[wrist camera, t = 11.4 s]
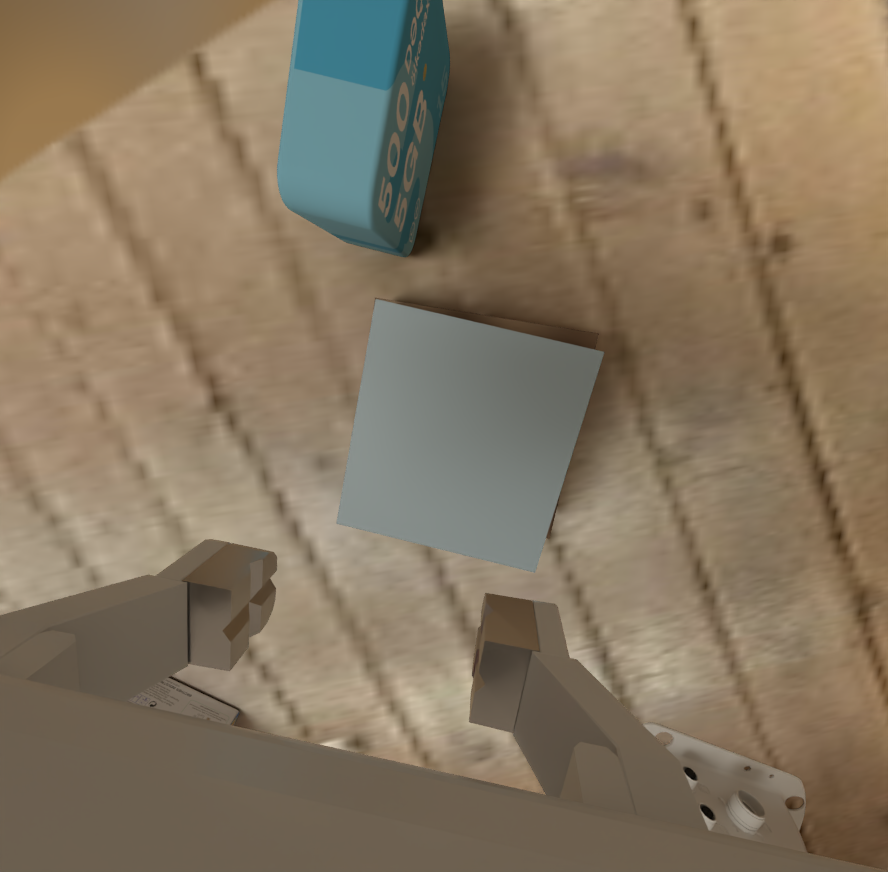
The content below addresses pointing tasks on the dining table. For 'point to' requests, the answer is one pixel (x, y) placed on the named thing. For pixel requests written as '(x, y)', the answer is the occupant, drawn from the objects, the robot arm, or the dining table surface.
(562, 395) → the slate top block
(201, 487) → the dining table surface
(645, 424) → the dining table surface
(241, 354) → the dining table surface
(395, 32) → the data package
